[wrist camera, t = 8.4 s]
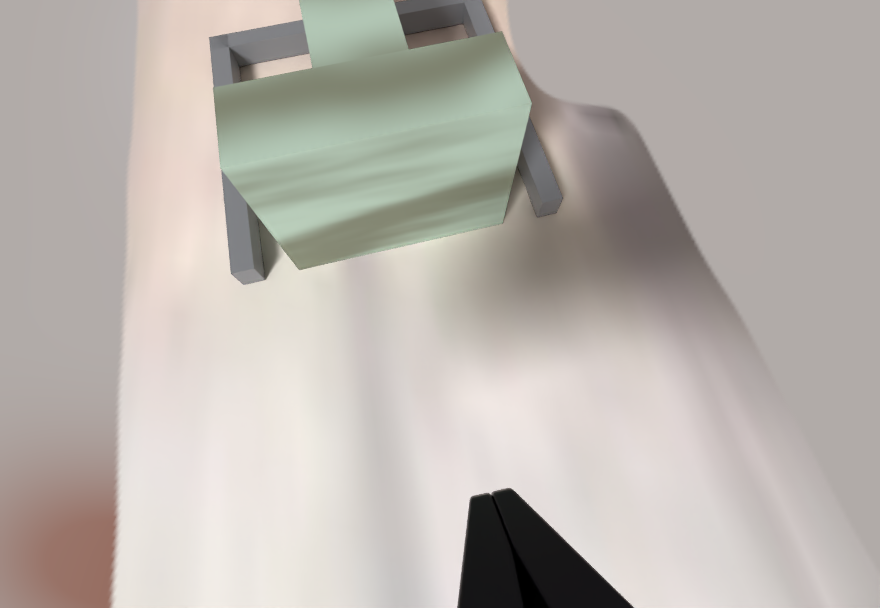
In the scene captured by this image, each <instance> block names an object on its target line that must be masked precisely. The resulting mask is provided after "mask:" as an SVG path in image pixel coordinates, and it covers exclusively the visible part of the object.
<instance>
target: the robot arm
mask: <svg viewBox="0 0 880 608" xmlns="http://www.w3.org/2000/svg"><path fill="white" fill-rule="evenodd" d="M457 608H634V607H633V606H632V605H631V604H630V603H629V602H628V601H627V600H626V599H625V598H624V597H623V596H622V595H620V594H619V593H618V592H617V591H616V590H615V589H614V588H613V587H612V586H611V585H610V584H609V583H608V582H607V581H606V580H605V579H604V578H603V577H602V576H601V575H600V574H599V573H598V572H597V571H596V570H595V569H594V568H593V567H592V566H591V565H590V564H589V563H588V562H587V561H586V560H585V559H584V558H583V557H582V556H581V555H580V554H579V553H577V552H576V551H575V550H574V549H573V548H572V547H571V546H570V545H569V544H568V543H567V542H566V541H565V540H564V539H563V538H562V537H561V536H560V535H559V534H558V533H557V532H556V531H555V530H554V529H553V528H552V527H551V526H550V525H549V524H548V523H547V522H546V521H545V520H544V519H543V518H542V517H541V516H540V515H539V514H538V513H537V512H536V511H534V510H533V509H532V508H531V507H530V506H529V505H528V504H527V503H526V502H525V501H524V500H523V499H522V498H521V497H520V496H519V495H518V494H517V493H516V492H515V491H514V490H513V489H511V488H506V489H502V490H497V491H494V492H492V494H489V493H484V494H480V495H475V496H472V497H471V498H470V503H469V511H468V520H467V529H466V537H465V546H464V555H463V563H462V572H461V580H460V589H459V598H458V606H457Z"/></svg>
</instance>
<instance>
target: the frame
mask: <svg viewBox="0 0 880 608" xmlns="http://www.w3.org/2000/svg"><path fill="white" fill-rule="evenodd" d="M395 6H396V10H397V13H398V16H399V19H400V23H401V26H402V29H403V32H404V35H406V34H411V33H416V32H421V31H426V30H431V29H437V28H442V27H447V26H452V25H457V24H464V27H465V29H466V32H467V35H468V37H469V38H470V37H475V36H481V35H486V34H491V33H495V32H494V30H493V27H492V25H491V22H490V20H489V17H488V15H487V13H486V10H485V8H484V5H483V3H482V0H407V1H401V2H396V3H395ZM209 40H210V51H211V62H212V73H213V84H214V87H218V86H224V85H229V84H234V83H239V82H241V77H240V69H239V66H244V65H250V64H255V63H260V62H265V61H270V60H276V59H281V58H286V57H291V56H296V55H302V54H307V53H309V47H308V42H307V37H306V32H305V27H304V22H303V20H300V21H294V22H289V23H284V24H278V25H273V26H267V27H262V28H257V29H251V30H246V31H241V32H235V33H230V34H225V35H219V36H214V37H209ZM517 166H518V169H519V171H520V174H521V176H522V179H523V182H524V184H525V187H526V190H527V192H528V195H529V197H530V200H531V203H532V205H533V208H534V211H535V213H536V216H537V217H540V216H545V215H549V214H553V213H557V210H558V208H559V206H560V204H561V202H562V199H563V197H562V194H561V192H560V190H559V187H558V185H557V182H556V180H555V177H554V175H553V173H552V170H551V168H550V165H549V163H548V161H547V158H546V156H545V153H544V151H543V148H542V146H541V144H540V141H539V139H538V136H537V134H536V131H535V129H534V127H533V124H532V122H531V119H530V117H529V118H528V122H527V126H526V130H525V134H524V138H523V142H522V146H521V150H520V154H519V158H518V163H517ZM221 171H222V170H221ZM222 182H223V193H224V203H225V214H226V225H227V236H228V247H229V258H230V269H231V274H232V275H233V276H234V277H235V278H236V279H238V280H239V281H240V282H241V283H242V284H243V285H245V284H249V283H254V282H258V281H262V280H265V275H264V266H263V258H262V250H261V242H260V233H259V225H258V217H257V215H256V214H255V212H254V211H253V210H252V208H251V207H250V206H249V205H248V203H247V202H246V201H245V199H244V198H243V197H242V196H241V194H240V193H239V192H238V190H237V189H236V188H235V186H234V185H233V184H232V183H231V181H230V180H229V179H228V177H227V176H226V175H225V174H224V172H223V171H222Z"/></svg>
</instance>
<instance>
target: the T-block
mask: <svg viewBox="0 0 880 608" xmlns="http://www.w3.org/2000/svg"><path fill="white" fill-rule="evenodd" d="M299 2H300V7H301V12H302V17H303V22H304V27H305V32H306V37H307V42H308V47H309V53H310V58H311V63H312V68H311V69H306V70H301V71H295V72H290V73H285V74H280V75H275V76H270V77H265V78H260V79H254V80H249V81H244V82H239V83H234V84H229V85H224V86H218V87H213V92H214V103H215V114H216V125H217V136H218V147H219V158H220V168H221V170H222V171H223V172H224V174H225V175H226V176H227V177H228V179H229V180H230V181H231V183H232V184H233V185H234V186H235V188H236V189H237V190H238V192H239V193H240V194H241V196H242V197H243V198H244V199H245V201H246V202H247V203H248V205H249V206H250V207H251V208H252V210H253V211H254V212H255V214H256V215H257V216H258V217H259V219H260V220H261V221H262V223H263V224H264V225H265V227H266V228H267V229H268V230H269V232H270V233H271V234H272V236H273V237H274V238H275V239H276V241H277V242H278V243H279V245H280V246H281V247H282V248H283V250H284V251H285V252H286V254H287V255H288V256H289V258H290V259H291V260H292V261H293V263H294V264H295V265H296V267H297V268H298V269H299V270H302V269H306V268H311V267H315V266H319V265H324V264H328V263H332V262H337V261H341V260H346V259H350V258H354V257H359V256H363V255H367V254H372V253H376V252H380V251H385V250H389V249H394V248H398V247H402V246H407V245H411V244H415V243H420V242H424V241H429V240H433V239H437V238H442V237H446V236H450V235H455V234H459V233H463V232H468V231H472V230H477V229H481V228H485V227H490V226H494V225H498V224H503V220H504V216H505V212H506V207H507V203H508V199H509V195H510V191H511V187H512V183H513V179H514V175H515V171H516V167H517V163H518V158H519V154H520V150H521V146H522V142H523V138H524V134H525V130H526V126H527V122H528V118H529V114H530V109H531V105H532V102H531V100H530V97H529V95H528V93H527V90H526V88H525V85H524V83H523V81H522V78H521V76H520V73H519V71H518V69H517V66H516V64H515V62H514V59H513V57H512V54H511V52H510V50H509V47H508V45H507V42H506V40H505V38H504V35H503V33H502V31H501V32H496V33H491V34H486V35H481V36H475V37H470V38H465V39H460V40H455V41H450V42H445V43H439V44H434V45H429V46H424V47H419V48H414V49H409V48H408V45H407V42H406V39H405V36H404V32H403V29H402V26H401V23H400V19H399V16H398V13H397V10H396V6H395V3H394V0H299Z"/></svg>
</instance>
